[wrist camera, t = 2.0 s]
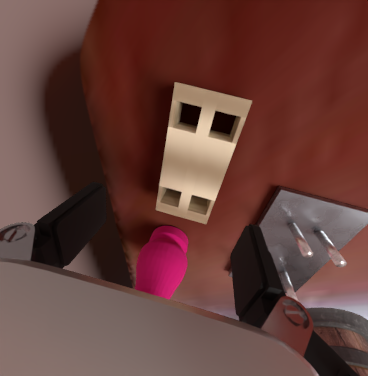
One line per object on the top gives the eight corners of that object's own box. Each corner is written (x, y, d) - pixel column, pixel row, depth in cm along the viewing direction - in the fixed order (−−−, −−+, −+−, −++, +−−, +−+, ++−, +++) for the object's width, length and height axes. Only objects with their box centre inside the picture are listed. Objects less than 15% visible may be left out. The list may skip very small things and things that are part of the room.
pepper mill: (196, 252, 29) (165, 482, 12) (159, 255, 31) (87, 453, 14) (183, 219, 26) (115, 465, 9) (142, 225, 28) (26, 432, 11)
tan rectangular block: (182, 83, 17) (175, 82, 14) (246, 99, 17) (252, 100, 14) (163, 195, 24) (155, 209, 21) (207, 207, 24) (206, 224, 21)
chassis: (278, 185, 21) (296, 213, 16) (369, 209, 20) (416, 246, 15) (228, 270, 30) (230, 304, 25) (290, 289, 29) (303, 326, 25)
